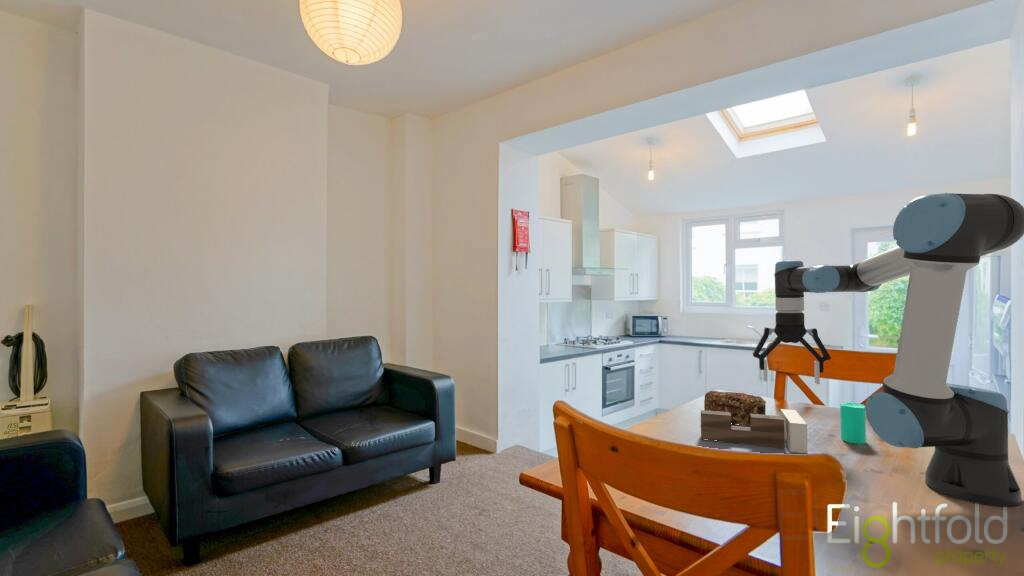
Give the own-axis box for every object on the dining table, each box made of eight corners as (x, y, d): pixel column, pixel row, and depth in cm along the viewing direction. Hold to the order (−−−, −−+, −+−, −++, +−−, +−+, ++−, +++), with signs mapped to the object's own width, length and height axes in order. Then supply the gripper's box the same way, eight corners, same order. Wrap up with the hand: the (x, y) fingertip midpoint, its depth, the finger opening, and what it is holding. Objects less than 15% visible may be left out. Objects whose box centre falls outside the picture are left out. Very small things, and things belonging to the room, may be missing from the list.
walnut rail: (784, 447, 133) (784, 419, 133) (701, 439, 141) (700, 413, 141) (782, 443, 137) (781, 416, 137) (701, 436, 145) (700, 410, 145)
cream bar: (807, 453, 129) (807, 424, 129) (790, 451, 130) (790, 422, 130) (795, 436, 144) (795, 410, 144) (780, 434, 145) (780, 409, 145)
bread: (703, 422, 160) (703, 393, 160) (707, 415, 170) (707, 387, 170) (765, 429, 151) (765, 398, 151) (766, 421, 161) (765, 392, 161)
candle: (857, 437, 142) (856, 397, 142) (870, 443, 136) (870, 402, 136) (836, 437, 142) (835, 397, 142) (848, 443, 136) (847, 402, 136)
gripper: (835, 311, 141) (836, 382, 141) (742, 311, 150) (743, 377, 150) (842, 312, 134) (843, 387, 134) (744, 312, 143) (745, 381, 143)
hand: (790, 382), depth 142 cm, fingers open, 13 cm apart
